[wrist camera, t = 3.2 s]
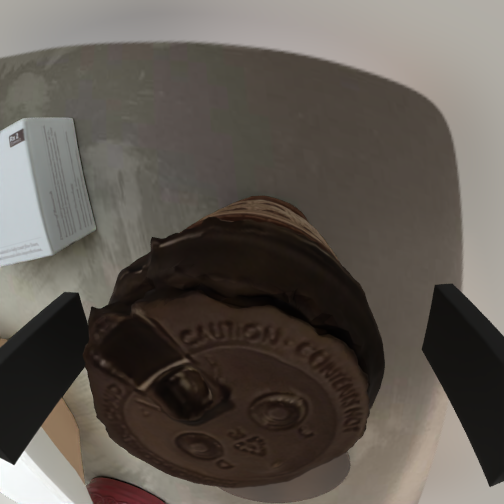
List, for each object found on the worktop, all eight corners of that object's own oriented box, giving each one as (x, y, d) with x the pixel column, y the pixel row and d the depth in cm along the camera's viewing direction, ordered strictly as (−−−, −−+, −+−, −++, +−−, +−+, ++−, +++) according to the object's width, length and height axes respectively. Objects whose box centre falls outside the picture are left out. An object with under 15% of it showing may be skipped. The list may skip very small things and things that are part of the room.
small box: (25, 247, 21) (-20, 272, 16) (3, 150, 18) (-46, 159, 13) (99, 231, 19) (53, 258, 15) (76, 114, 17) (22, 113, 12)
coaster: (360, 420, 23) (361, 427, 22) (339, 494, 27) (339, 500, 27) (191, 420, 24) (189, 427, 24) (214, 494, 29) (213, 499, 28)
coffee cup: (183, 173, 18) (15, 244, 6) (333, 169, 17) (445, 240, 5) (196, 311, 21) (116, 483, 8) (327, 312, 20) (362, 502, 8)
